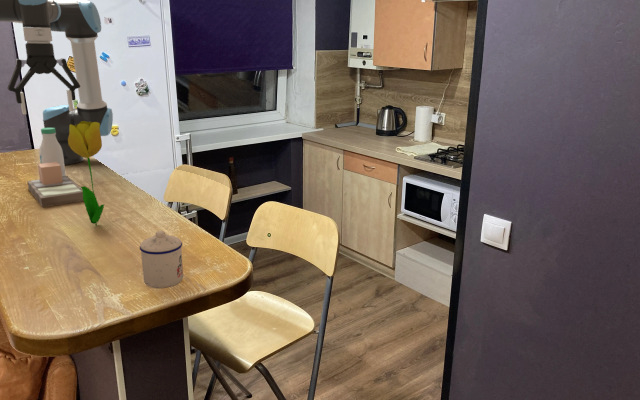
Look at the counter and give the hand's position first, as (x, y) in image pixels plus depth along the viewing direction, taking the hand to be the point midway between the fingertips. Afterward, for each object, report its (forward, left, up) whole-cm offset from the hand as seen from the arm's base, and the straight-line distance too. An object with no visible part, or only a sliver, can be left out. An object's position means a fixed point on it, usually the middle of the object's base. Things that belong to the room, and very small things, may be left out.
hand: (48, 112), depth 169 cm
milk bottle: (-14, -16, -29) cm, 36 cm away
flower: (+16, +29, -29) cm, 44 cm away
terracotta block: (-6, -9, -25) cm, 28 cm away
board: (-3, -4, -29) cm, 29 cm away
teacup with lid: (+38, +67, -29) cm, 82 cm away
